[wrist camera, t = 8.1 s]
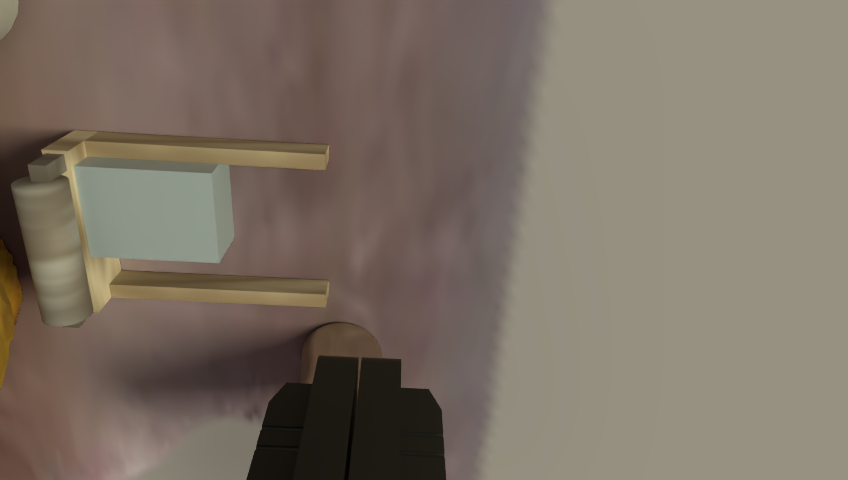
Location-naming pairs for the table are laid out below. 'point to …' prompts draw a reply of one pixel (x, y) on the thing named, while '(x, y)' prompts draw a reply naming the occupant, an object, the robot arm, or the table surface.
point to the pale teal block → (155, 209)
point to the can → (7, 15)
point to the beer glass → (337, 346)
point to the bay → (102, 277)
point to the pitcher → (7, 304)
